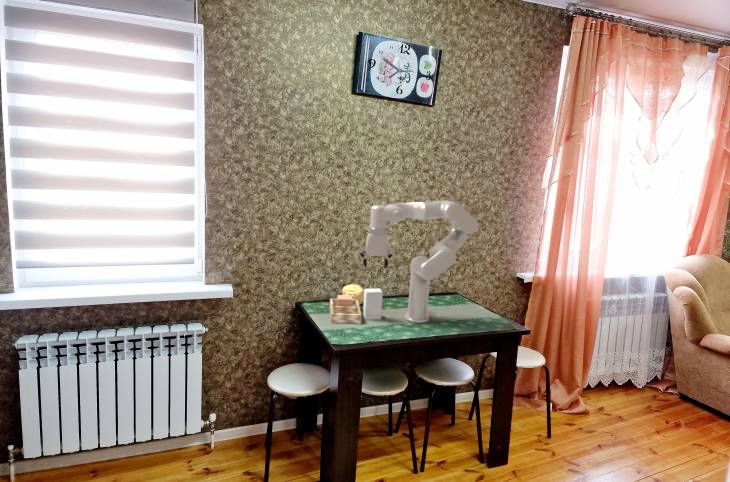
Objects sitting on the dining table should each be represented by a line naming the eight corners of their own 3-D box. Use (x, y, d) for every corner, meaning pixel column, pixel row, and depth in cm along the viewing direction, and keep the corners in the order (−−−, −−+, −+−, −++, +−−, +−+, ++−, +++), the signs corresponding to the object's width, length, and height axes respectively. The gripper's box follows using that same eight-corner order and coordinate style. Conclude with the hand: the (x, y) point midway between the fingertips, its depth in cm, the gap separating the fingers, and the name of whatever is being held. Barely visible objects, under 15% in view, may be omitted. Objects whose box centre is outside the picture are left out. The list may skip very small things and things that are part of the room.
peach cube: (350, 308, 240) (351, 295, 238) (351, 313, 233) (352, 299, 232) (336, 308, 239) (337, 294, 238) (337, 312, 232) (338, 299, 231)
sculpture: (338, 304, 247) (340, 285, 245) (348, 299, 258) (349, 280, 256) (358, 309, 243) (360, 288, 241) (367, 303, 254) (369, 283, 252)
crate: (356, 308, 243) (357, 299, 242) (361, 325, 219) (361, 315, 218) (329, 307, 241) (330, 298, 240) (331, 324, 217) (331, 314, 217)
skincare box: (378, 317, 232) (380, 288, 230) (381, 321, 227) (383, 291, 224) (361, 317, 231) (364, 287, 228) (364, 321, 225) (366, 291, 222)
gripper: (394, 231, 226) (392, 265, 229) (358, 229, 224) (356, 264, 227) (397, 233, 218) (394, 269, 221) (360, 232, 216) (357, 268, 219)
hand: (375, 267), depth 224 cm, fingers open, 9 cm apart
